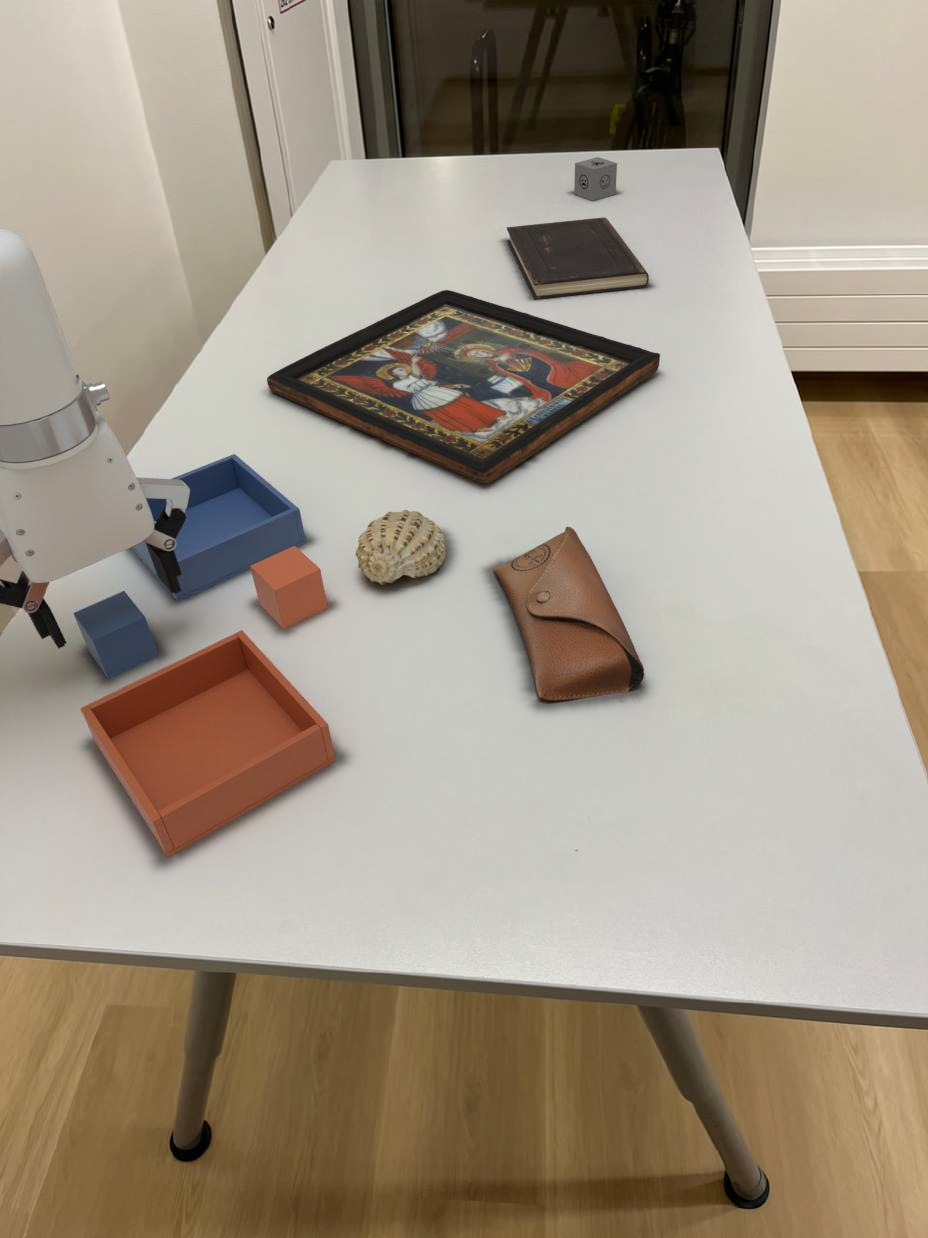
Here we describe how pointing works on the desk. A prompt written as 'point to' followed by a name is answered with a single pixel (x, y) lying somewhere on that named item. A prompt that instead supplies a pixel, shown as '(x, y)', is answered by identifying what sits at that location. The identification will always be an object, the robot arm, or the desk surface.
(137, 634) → the blue block
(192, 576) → the blue bin
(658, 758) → the desk surface
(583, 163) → the dice cube
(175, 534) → the robot arm
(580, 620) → the sunglasses case
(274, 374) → the framed icon painting
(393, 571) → the seashell
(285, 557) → the terracotta block
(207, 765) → the terracotta bin
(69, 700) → the desk surface
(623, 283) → the hardcover book
